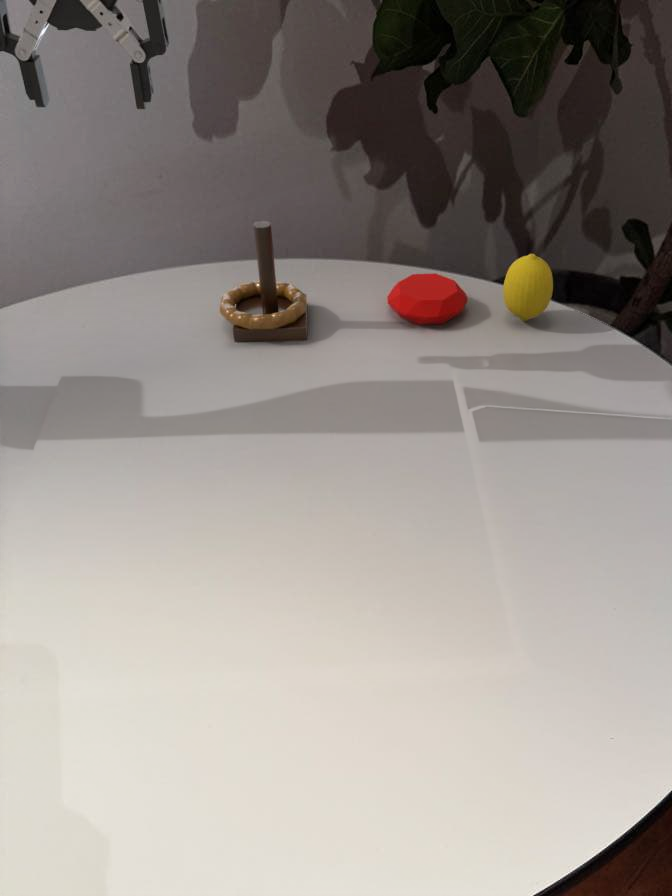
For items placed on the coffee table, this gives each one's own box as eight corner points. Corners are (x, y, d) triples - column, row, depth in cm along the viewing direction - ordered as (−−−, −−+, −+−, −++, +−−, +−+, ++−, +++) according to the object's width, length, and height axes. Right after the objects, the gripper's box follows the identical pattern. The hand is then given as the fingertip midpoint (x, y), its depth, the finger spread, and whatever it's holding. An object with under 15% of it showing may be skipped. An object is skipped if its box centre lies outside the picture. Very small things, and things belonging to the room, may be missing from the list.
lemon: (547, 310, 103) (556, 245, 97) (548, 334, 99) (558, 267, 93) (500, 307, 103) (507, 242, 98) (499, 330, 99) (506, 264, 93)
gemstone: (412, 336, 98) (412, 312, 96) (375, 302, 103) (375, 278, 101) (479, 318, 101) (481, 294, 99) (440, 286, 107) (441, 263, 105)
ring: (218, 333, 95) (216, 320, 93) (223, 292, 102) (221, 279, 100) (307, 330, 95) (306, 317, 94) (306, 289, 102) (305, 276, 101)
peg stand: (234, 341, 96) (221, 241, 88) (238, 307, 102) (226, 209, 94) (307, 339, 97) (300, 239, 89) (307, 305, 103) (300, 208, 95)
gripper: (-63, -122, 63) (-1, 118, 74) (140, -114, 64) (171, 120, 75) (-34, -133, 68) (19, 92, 79) (152, -125, 70) (179, 94, 80)
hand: (93, 106), depth 77 cm, fingers open, 8 cm apart
